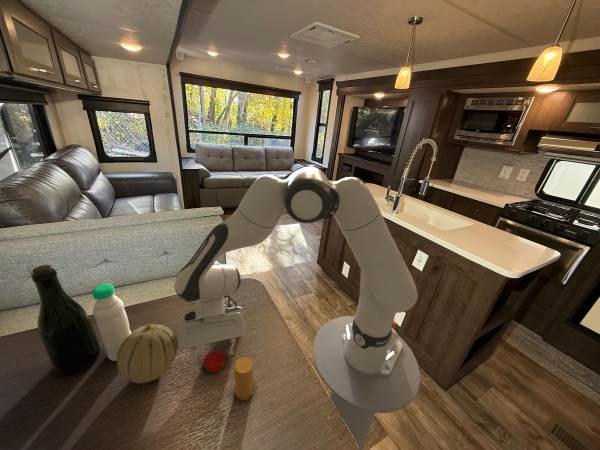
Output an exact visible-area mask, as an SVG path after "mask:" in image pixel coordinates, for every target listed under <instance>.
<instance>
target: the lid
mask: <svg viewBox="0 0 600 450" xmlns="http://www.w3.org/2000/svg"><path fill="white" fill-rule="evenodd" d="M225 360H226V357H225V354H224V353H223V351H221V350H213V351H210V352H209V353H207V354H206V355H205V357H204V359H203V366H204V369H205V370H206V371H207V372H210V373H214V372H215V373H216V372H218V371H219V370H221V369H222V368H223V367H224V365H225V362H226V361H225Z"/></svg>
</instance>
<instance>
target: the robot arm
mask: <svg viewBox="0 0 600 450" xmlns="http://www.w3.org/2000/svg"><path fill="white" fill-rule="evenodd" d="M286 212H287V214H288V215H289V216H290V217H291V218H292V220H294V221H296V222H298V223H302V224H313V223H316V222H319V221H322V220H327V219H331V218H334V219H335V221H336V223H337V225H338V227H339V229H340V231H341V233H342V235H343V236H344V238H345V240H346V242H347V244H348V246H349V248H350V250H351V252H352V254H353V256H354V258H355V260H356V262H357V265H358V267H359V269H360V278H359V281H360V282H359V297H358V298H359V299H358V304H357V307H356V308H357V309H356V313H355V315H354V316H355V317H354V319H353V323H352V324H350V325H349V328H348V325H347V326H346V327H347V333H346V334H344V335H343V337H342V339H343V342H344V349H343V350H344V356H345V358H346V360H347V361H348V363H349V364H350V365H351V366H352V367H353V368H354V369H356V370H358V371H359V372H362V373H365V374H371V375H373V374H380V375H383V376H389V375H390V374H391V371H392V369H393V367H394V365H395V363H396V361H397V359H398V357H399V354H400V352H401V350H402V347H403V345H402V343H401V342H400V341H399V339H398V336H399V333H398V332H397V331H396V330H395V328H396V327H397V324H398V322H396V321H395V317H396V314H400V313H405V312H407V311H409V310H410V309H412V308H413V307H414V306H415V305H416V303H417V302H418V299H419V294H418V289H417V286H416V283H415V281H414V278H413V276H412V274H411V271H410V270H409V268H408V265H407V264H406V262H405V259H404V258H403V255H402V254H401V251H400V250H399V248H398V246H397V244H396V242H395V240H394V238H393V237H392V234H391V232H390V229H389V228H388V225H387V223H386V220H385V218H384V216H383V215H382V212H381V210H380V207H379V206H378V203H377V202H376V200H375V198H374V196H373V194H372V193H371V191H370V190H369V188H368V187H367V185H366V184H365V183H364V181H363V180H362V179H360V178H358V177H357V176H356V177H355V176H348V177H344V178H340V179H339V180H335V181H332V180H329V177H328V175H327V173H326V172H325V171H324V170H323V169H322V168H321V167H319V166H317V165H314V164H309V165H308V164H307V165H303V166H301V167H299V168H297V169H295V170H294V171H292V172H290V173H288V174H286V175H285V176H284V179H281V178H278V177H276V176H274V175H271V174H270V175H269V174H263V175H261V176H258V177H257V178H256V179H255V180H254V182H253V183H251V185H250V186H249V188H248V190H247V191H246V192H245V194H244V196H243V197H242V198H241V201H240V202H239V205H238V206H237V208H236V209H235V211H234V212H233V213H232V214H231V215H230V216H229V217H228V218H227V219H225V220H224V221H222V222H221V223H219V224H217V225H216V226H214V227H213V228H212V229H211V231H209V233H208V235H207V236H206V237H205V238H204V240H203V241H202V243H201V244H200V246H199V247H198V248H197V250H196V251H195V252H194V254H193V256H192V257H191V258H190V259H189V261H188V262H187V263H186V264H185V265H184V266H183V267H182V268H181V269H180V270H179V272H178V273H177V274H176V277H175V281H174V290H175V293H176V295H177V296H178V297H179V298H180V299H181V300H183V301H184V302H186V303H192V302H195V308H194V309H191V310H190V311H187V312H185V313H184V314H182V315H181V316H180V323H181V324H180V325H179V326H178V329H177V333H176V339H177V348H178V349H177V350H178V351H183V350H189V351H190V354H191V355H192V357H193V358H194V364H195V365H197V364H200V363H201V361H202V360H201V355H197V353H196V351H197V347H201V346H205V345H209V344H213V343H218V342H221V341H226V340H230V343H231V345H230V347H229V348H227V355H228V356H232V355H234V348H235V345H236V338H239V337H243V336H245V335H246V334H247V327H246V323H245V322H246V321H245V317H246V312H245V309H244V308H243V307H241V306H239V305H238V306H237V307H233V308H226V309H225V302H224V297H223V296H228V295H229V296H231V295H234V294H236V292H237V291H238V290H239V288H240V286H241V282H242V278H241V273H240V271H239V269H238V268H237V267H236V266H235V265H233V264H225V263H220V262H219V261H218V259H219V258H220V257H222V256H223V255H225V254H226V253H230V252H231V251H236V250H239V249H244V248H250V247H254V246H257V245H260V244H262V243H263V242H265V241H266V240H267V239H268V238H269V237H270V236H271V234H272V233H273V231H274V229H275V228H276V226H277V224H278V223H279V221H280V219H281V218H282V216H283V215H284V214H285V213H286ZM239 309H240V310H239ZM234 310H235V311H234ZM387 369H388V370H387Z"/></svg>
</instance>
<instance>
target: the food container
mask: <svg viewBox="0 0 600 450" xmlns="http://www.w3.org/2000/svg"><path fill="white" fill-rule="evenodd" d="M223 297H224V302H225V309H226V308H233V307H237V306H239V305H238V304H237V302H236V301H235V300H233V298H232V297H231V295H228V296H223ZM239 310H240V309H239ZM234 311H235V310H234Z"/></svg>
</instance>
